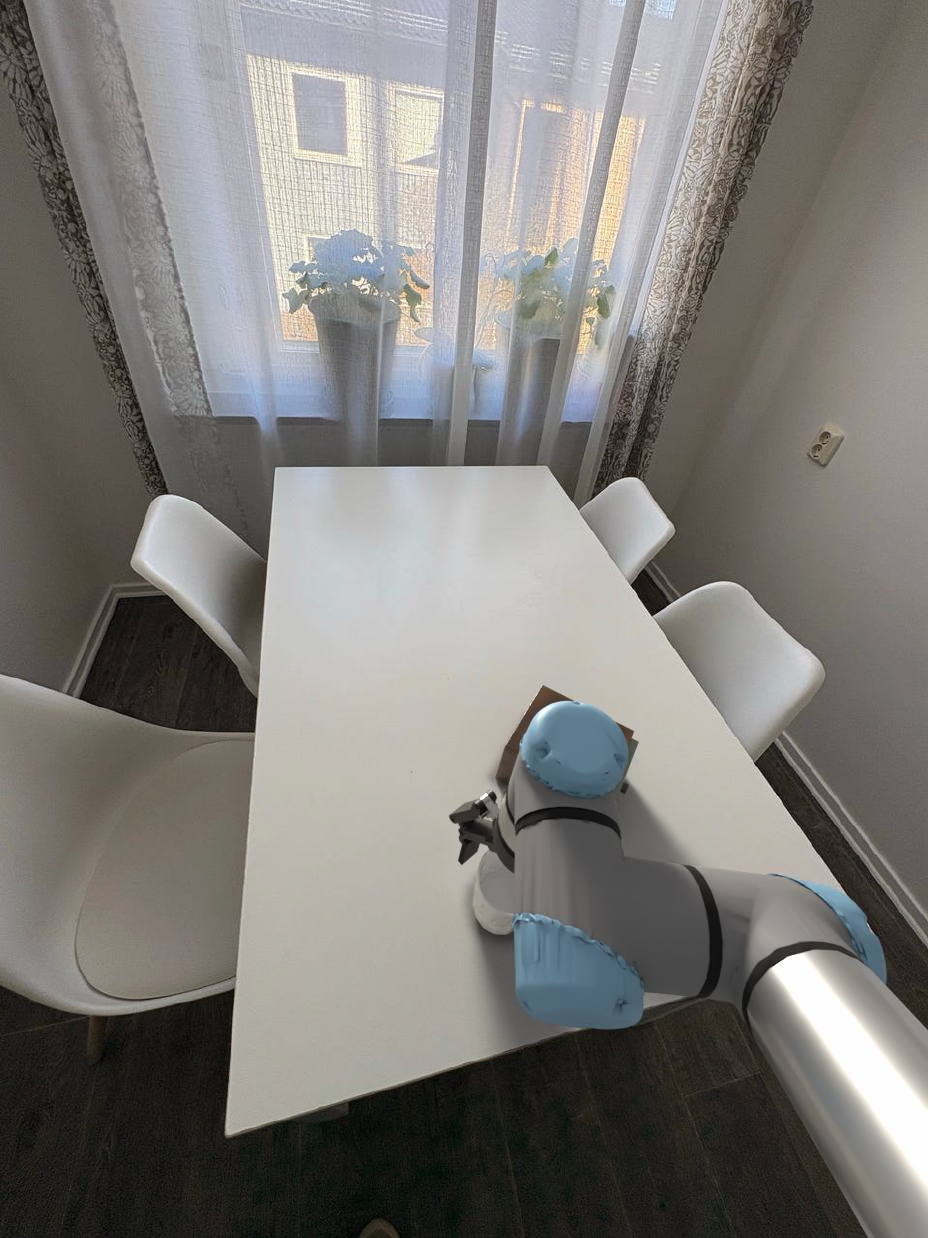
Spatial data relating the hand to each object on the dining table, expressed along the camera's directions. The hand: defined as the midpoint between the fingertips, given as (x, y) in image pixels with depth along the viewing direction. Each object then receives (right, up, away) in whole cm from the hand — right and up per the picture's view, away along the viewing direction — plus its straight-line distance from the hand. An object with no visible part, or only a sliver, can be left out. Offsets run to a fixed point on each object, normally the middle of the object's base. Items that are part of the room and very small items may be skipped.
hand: (502, 898), depth 63 cm
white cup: (0, -2, +2) cm, 3 cm away
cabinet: (+10, +11, +16) cm, 22 cm away
